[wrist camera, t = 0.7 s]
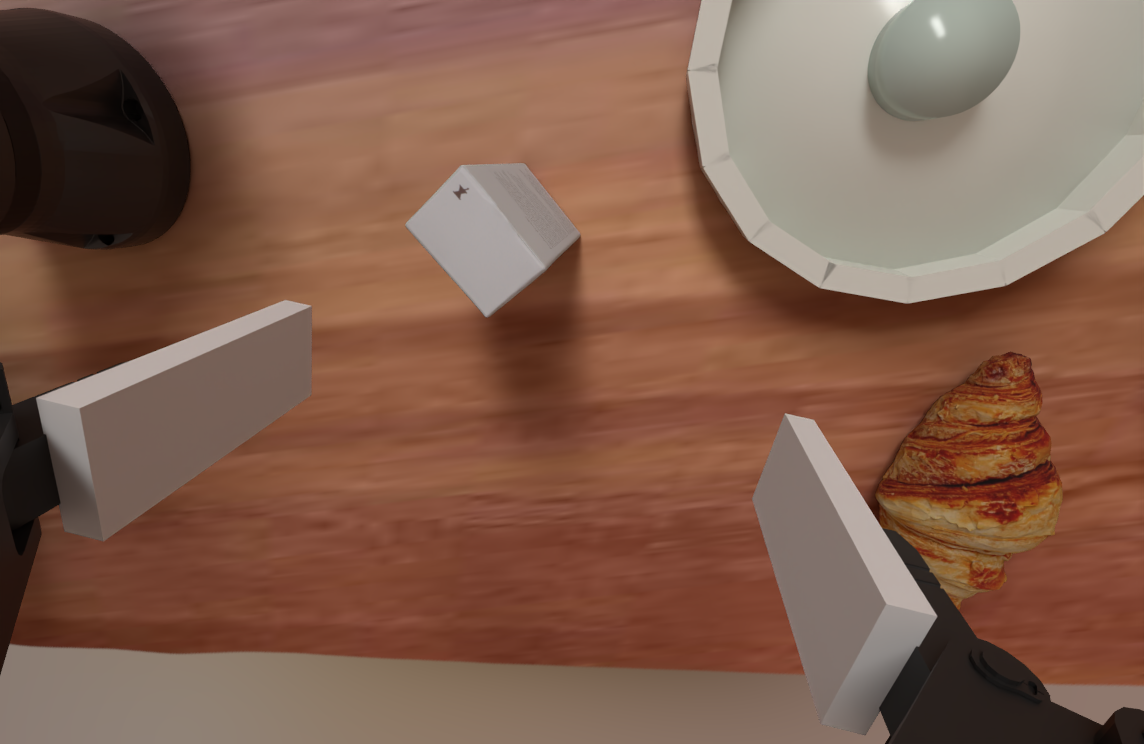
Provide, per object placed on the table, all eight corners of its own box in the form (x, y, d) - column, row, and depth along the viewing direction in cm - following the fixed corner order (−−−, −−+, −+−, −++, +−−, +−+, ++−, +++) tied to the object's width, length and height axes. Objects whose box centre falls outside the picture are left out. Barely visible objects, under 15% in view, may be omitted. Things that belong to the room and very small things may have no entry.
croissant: (925, 574, 45) (1027, 652, 38) (828, 602, 42) (920, 693, 35) (1007, 329, 37) (1155, 371, 30) (895, 342, 34) (1032, 393, 27)
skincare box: (478, 205, 37) (399, 222, 26) (524, 161, 35) (461, 159, 24) (537, 276, 38) (485, 321, 27) (584, 236, 36) (550, 267, 25)
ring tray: (608, 147, 34) (602, 145, 31) (904, -365, 25) (941, -445, 21) (930, 359, 36) (957, 379, 32) (1325, -47, 26) (1418, -77, 23)
